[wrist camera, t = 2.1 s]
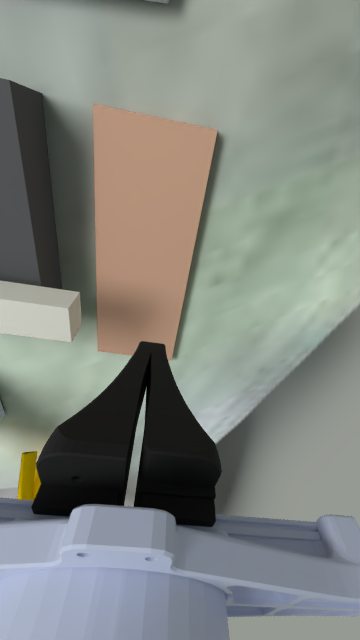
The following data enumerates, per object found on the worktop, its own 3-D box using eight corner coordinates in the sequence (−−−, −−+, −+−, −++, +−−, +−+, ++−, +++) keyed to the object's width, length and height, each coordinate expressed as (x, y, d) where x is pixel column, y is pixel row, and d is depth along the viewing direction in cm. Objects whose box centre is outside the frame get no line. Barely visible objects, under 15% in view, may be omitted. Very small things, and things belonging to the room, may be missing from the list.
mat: (171, 356, 25) (171, 360, 24) (99, 346, 24) (97, 350, 24) (216, 130, 15) (217, 130, 14) (96, 105, 14) (93, 103, 14)
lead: (65, 304, 22) (47, 328, 19) (17, 297, 22) (-9, 320, 19) (44, 94, 14) (9, 80, 11) (-31, 78, 14) (-87, 59, 11)
